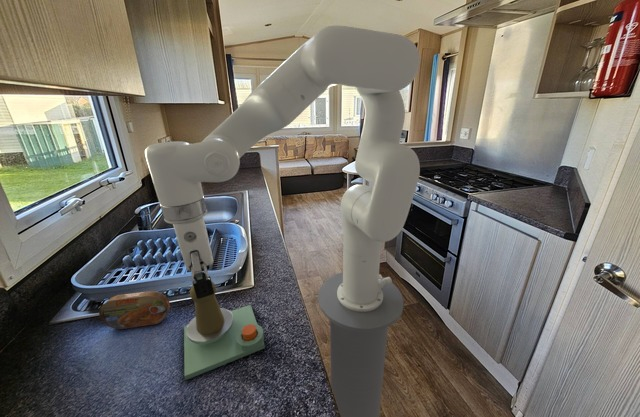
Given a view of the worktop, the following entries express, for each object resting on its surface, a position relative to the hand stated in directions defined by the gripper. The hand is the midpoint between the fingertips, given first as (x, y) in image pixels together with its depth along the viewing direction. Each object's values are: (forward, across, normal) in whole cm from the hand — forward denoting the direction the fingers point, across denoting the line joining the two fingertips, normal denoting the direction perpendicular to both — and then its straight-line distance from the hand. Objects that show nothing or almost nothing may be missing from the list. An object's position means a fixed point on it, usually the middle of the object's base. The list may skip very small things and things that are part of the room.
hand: (204, 282), depth 56 cm
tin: (+15, +13, +17) cm, 26 cm away
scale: (+15, -2, -1) cm, 15 cm away
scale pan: (+12, 0, +1) cm, 12 cm away
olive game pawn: (+12, 0, +1) cm, 12 cm away
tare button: (+13, -6, -7) cm, 16 cm away
